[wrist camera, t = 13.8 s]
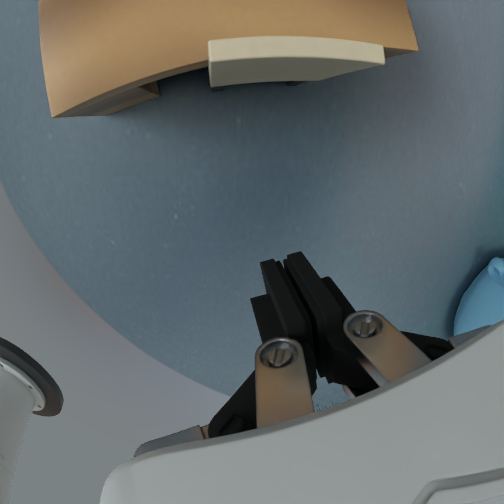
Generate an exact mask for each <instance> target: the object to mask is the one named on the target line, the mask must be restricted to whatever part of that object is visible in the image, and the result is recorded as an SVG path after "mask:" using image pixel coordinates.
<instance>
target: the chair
mask: <svg viewBox="0 0 504 504" xmlns="http://www.w3.org/2000/svg"><path fill="white" fill-rule="evenodd" d="M208 62H209V66H208V70H209V79H210V86H211V87H212V90H213V92H215V91H222V90H223V89H224V86H225V85H233V84H244V83H256V82H273V81H286V85H287V86H295V85H298V84H301V83H304V82H306V81H320V80H324V79H327V78H330V77H334V76H338V75H341V74H345V73H349V72H353V71H357V70H362V69H366V68H371V67H375V66H380V65H384V64H385V56H384V48H383V46H382V45H378V44H372V43H366V42H359V41H352V40H344V39H334V38H322V37H306V36H255V37H238V38H226V39H217V40H210V41H208Z"/></svg>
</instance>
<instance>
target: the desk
mask: <svg viewBox="0 0 504 504" xmlns="http://www.w3.org/2000/svg"><path fill="white" fill-rule="evenodd" d="M39 29H40V43H41V53H42V62H43V70H44V77H45V83H46V89H47V95H48V100H49V105H50V110H51V115H52V118H61V117H75V116H108V115H110V114H113V113H115V112H118V111H120V110H123V109H126V108H128V107H131V106H134V105H137V104H140V103H143V102H146V101H148V100H152V99H155V98H158V97H160V94H159V89H158V85H157V81H156V80H160V79H163V78H166V77H169V76H173V75H176V74H180V73H184V72H188V71H191V70H195V69H199V68H204V67H208V66H209V62H208V41H210V40H217V39H226V38H238V37H255V36H306V37H322V38H334V39H344V40H352V41H359V42H366V43H372V44H378V45H382V46H383V48H384V56H385V58H388V57H392V56H397V55H402V54H407V53H412V52H417V51H419V49H418V45H417V40H416V36H415V32H414V29H413V25H412V21H411V18H410V15H409V11H408V8H407V5H406V2H405V0H39Z"/></svg>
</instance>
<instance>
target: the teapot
mask: <svg viewBox="0 0 504 504" xmlns="http://www.w3.org/2000/svg"><path fill="white" fill-rule="evenodd" d="M503 319H504V258H501V259H500V258H499V257H495V258H493V259H491V261H490V262H489V264H488V266H486V267H485V268H484V269H483V270H482V271H481V272H480V274H479V275H478V276H477V277H476V278H475V279H474V281H473V282H472V284H471V285H470V286H469V288H468V290H467V291H466V292H465V293H464V294H463V296H462V298H461V301H460V304H459V307H458V309H457V312H456V315H455V320H454V336H456V335H459V334H462V333H465V332H468V331H471V330H474V329H477V328H480V327H483V326H486V325H494V324H495V323H497V322H499V321H501V320H503Z"/></svg>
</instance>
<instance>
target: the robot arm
mask: <svg viewBox="0 0 504 504" xmlns="http://www.w3.org/2000/svg"><path fill="white" fill-rule="evenodd" d="M283 263H284V268H283V266H282V264H281V262H280V261H277V262H275V260H274V259H270V260H266V261H263V262H260V266H261V270H262V275H263V279H264V283H265V288H266V292H267V294H265V295H261V296H257V297H254V298H250V300H251V304H252V307H253V311H254V315H255V318H256V322H257V326H258V329H259V333H260V336H261V340H262V344H261V345H260V346H259V347H258V349H257V351H256V353H255V370H254V371H253V373H252V374H251V375H250V376H249V377H248V378H247V380H246V381H245V382H244V383H243V384H242V386H241V387H240V388H239V389H238V390H237V391H236V392H235V394H234V395H233V396H232V397H231V398H230V399H229V401H228V402H227V403H226V404H225V405H224V406H223V407H222V408H221V410H220V411H219V412H218V413H217V414H216V415H215V416H214V417H213V419H212V420H211V422H210V424H208V425H205V426H203V427H200V426H199V425H197V426H194V427H191V428H188V429H186V430H183V431H180V432H177V433H174V434H171V435H168V436H165V437H161V438H158V439H155V440H151V441H148V442H146V443H144V444H142V445H141V446H140V447H139V448H138V449H137V450H136V452H135V455H134V458H132V459H130V460H128V461H126V462H124V463H123V464H121V465H120V466H118V467H117V468H115V469H114V470H113V471H112V472H111V473H110V475H109V476H108V478H107V480H106V482H105V484H104V487H103V490H102V495H101V499H100V504H504V319H503V320H501V321H499V322H497V323H495V324H494V325H486V326H483V327H480V328H477V329H474V330H471V331H468V332H465V333H462V334H459V335H456V336H452V337H449V339H448V341H446V340H444V339H440V338H436V337H430V336H424V335H419V334H414V333H408V332H403V331H399V330H398V329H397V328H396V327H395V326H393V325H392V324H391V323H390V322H389V321H388V320H387V319H386V318H384V317H383V316H382V315H381V314H379V313H377V312H374V311H369V310H362V311H357V312H356V311H355V310H354V308H353V307H352V305H351V304H350V303H349V301H348V300H347V299H346V297H345V296H344V295H343V293H342V292H341V291H340V289H339V288H338V287H337V286H336V284H335V283H334V282H333V280H332V279H331V278H330V277H328V276H327V277H324V278H320V277H319V275H318V274H317V273H316V271H315V270H314V268H313V267H312V266H311V264H310V263H309V262H308V260H307V259H306V257H305V256H304V255H303V253H302V252H301V251H300V252H296V253H292V254H289V255H287V259H284V260H283ZM284 269H285V270H284ZM316 369H317V371H318V374H319V376H320V377H321V378H322V377H326V379H327V381H328V384H329V383H332V382H334V383H338V384H341V385H342V388H343V390H344V392H345V393H346V394H347V396H348V397H349V398H350V400H348V401H345V402H343V403H340V404H337V405H335V406H332V407H329V408H326V409H323V410H320V411H317V412H315V411H314V405H313V400H312V395H313V394H314V392H315V390H316V389H317V384H316V379H317V374H316ZM45 402H46V400H45V397H44V394H43V392H42V391H41V389H40V388H39V387H38V385H37V384H36V383H35V382H34V381H33V380H32V379H31V378H30V377H29V376H28V375H27V374H26V373H25V372H23V371H22V370H21V369H20V368H18V367H17V366H15V365H14V364H13V363H11V362H9V361H8V360H6V359H4V358H2V357H0V504H9V497H10V490H11V485H12V480H13V476H14V471H15V467H16V463H17V459H18V456H19V452H20V449H21V445H22V442H23V438H24V435H25V432H26V429H27V426H28V423H29V420H30V417H31V414H32V412H33V411H40V410H42V409H43V408H44V406H45Z"/></svg>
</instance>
